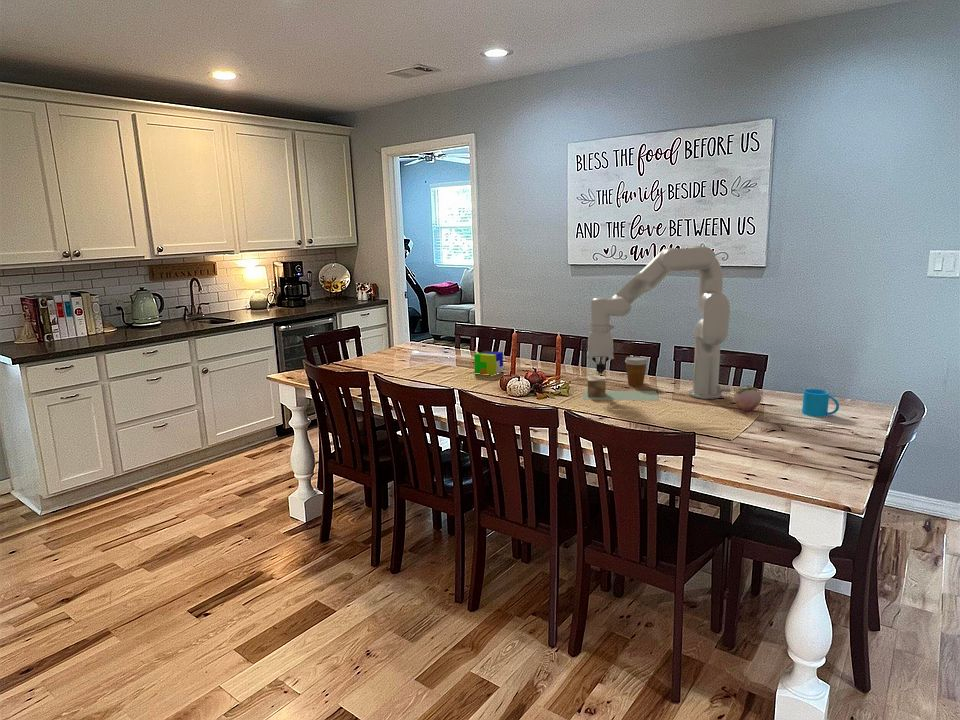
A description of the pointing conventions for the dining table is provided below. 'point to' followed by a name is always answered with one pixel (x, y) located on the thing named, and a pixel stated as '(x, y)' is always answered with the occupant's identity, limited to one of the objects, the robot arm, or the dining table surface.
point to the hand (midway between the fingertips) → (600, 373)
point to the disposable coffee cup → (636, 370)
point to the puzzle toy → (488, 362)
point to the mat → (625, 395)
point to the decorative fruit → (747, 398)
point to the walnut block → (596, 386)
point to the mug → (817, 403)
